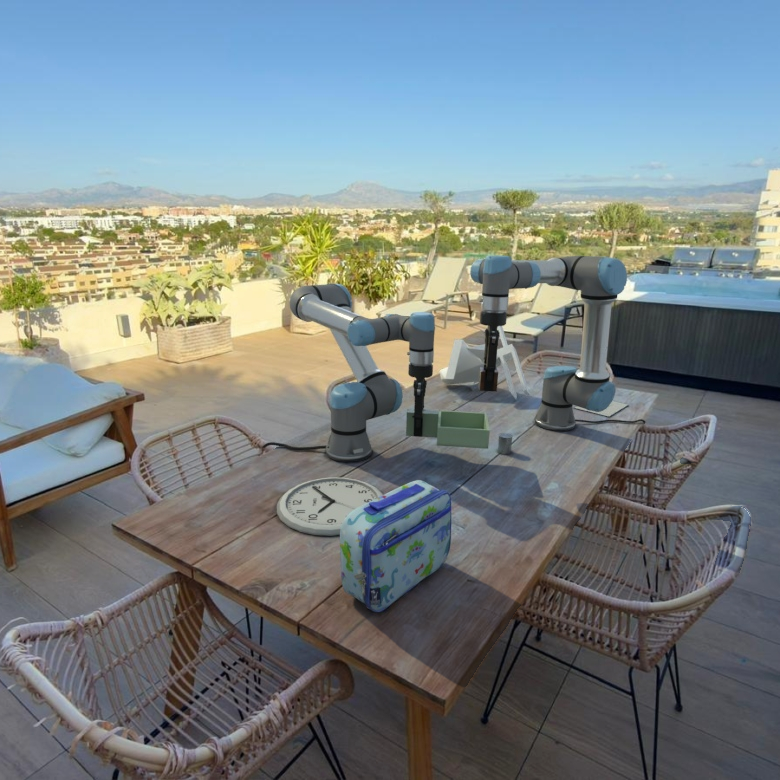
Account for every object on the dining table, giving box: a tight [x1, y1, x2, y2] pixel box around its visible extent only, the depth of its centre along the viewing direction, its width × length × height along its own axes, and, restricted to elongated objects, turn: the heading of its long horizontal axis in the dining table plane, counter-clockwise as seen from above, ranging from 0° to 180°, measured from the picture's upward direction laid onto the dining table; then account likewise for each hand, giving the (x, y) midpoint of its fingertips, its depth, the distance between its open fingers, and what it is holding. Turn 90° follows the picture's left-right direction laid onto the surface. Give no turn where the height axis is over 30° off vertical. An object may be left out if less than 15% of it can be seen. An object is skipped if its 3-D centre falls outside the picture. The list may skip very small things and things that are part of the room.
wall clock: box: [276, 476, 385, 537], centre depth 142 cm, size 30×2×30 cm
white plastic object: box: [438, 326, 531, 400], centre depth 245 cm, size 37×45×31 cm
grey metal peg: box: [497, 432, 513, 455], centre depth 178 cm, size 4×4×6 cm
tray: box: [405, 408, 491, 450], centre depth 166 cm, size 26×16×8 cm, turn 83°
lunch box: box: [339, 479, 452, 613], centre depth 109 cm, size 26×11×21 cm, turn 134°
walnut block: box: [478, 367, 499, 393], centre depth 156 cm, size 5×5×6 cm
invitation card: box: [573, 400, 629, 418], centre depth 226 cm, size 21×1×15 cm
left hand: (418, 433), depth 168 cm, fingers closed on tray, 3 cm apart
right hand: (487, 388), depth 157 cm, fingers closed on walnut block, 5 cm apart
